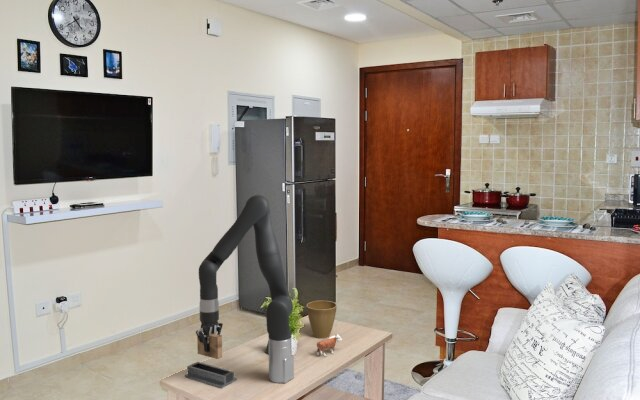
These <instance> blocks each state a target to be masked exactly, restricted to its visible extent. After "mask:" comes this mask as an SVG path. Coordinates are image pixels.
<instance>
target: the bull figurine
mask: <svg viewBox="0 0 640 400" xmlns="http://www.w3.org/2000/svg"><path fill="white" fill-rule="evenodd" d="M342 341H343V338H342V337H341V336H340V335H339V334H338V333H337V334H335V335H331V336H329V337H328V338H324V339H322V340H319V341H317V343H316V348H317V350H316V353H317V356H318V357H319V356H322V355H323V356H324V357H327V356H328V355H327V354H326V353H325V351H327V350H329V351H330V353H331V354H332V355H334V354H335V353H334V350H335V347H336V346H337V344H338V343H339V342H342Z"/></svg>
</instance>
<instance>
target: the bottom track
mask: <svg viewBox="0 0 640 400" xmlns="http://www.w3.org/2000/svg"><path fill="white" fill-rule="evenodd" d="M186 367H187V371H186V372H187V373H185V374H184V378H186V379H190V380H192V381H196V382H200V383H203V384H205V385H210V386H213V387H217V388H219V389H220V388H221V389H223V388H226V387H227V386H228V385H231V384H232V383H234V382H236V381H237V380H238V377H236V376H235V371H233V370H229V369H225V368H223V367H218V366H214V365H212V364H207V363H204V362H200V361H196V362H194V363H192V364H190V365H188V366H186Z"/></svg>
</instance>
